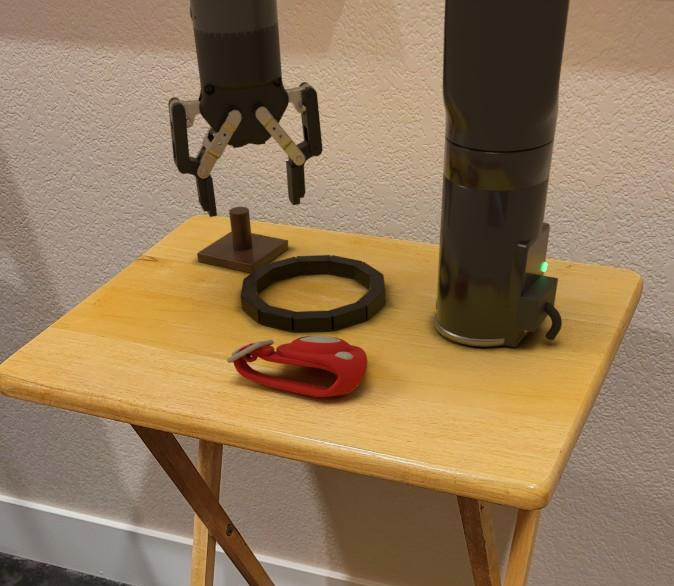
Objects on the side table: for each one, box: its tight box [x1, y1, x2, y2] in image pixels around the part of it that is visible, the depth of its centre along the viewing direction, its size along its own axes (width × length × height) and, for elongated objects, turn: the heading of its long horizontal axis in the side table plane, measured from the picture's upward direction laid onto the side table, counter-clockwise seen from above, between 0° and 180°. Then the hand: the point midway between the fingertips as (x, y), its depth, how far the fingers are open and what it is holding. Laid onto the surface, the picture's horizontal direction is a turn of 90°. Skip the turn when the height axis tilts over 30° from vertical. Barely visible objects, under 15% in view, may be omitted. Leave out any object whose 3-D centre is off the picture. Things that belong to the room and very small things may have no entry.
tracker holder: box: [226, 335, 368, 398], centre depth 79 cm, size 12×4×10 cm
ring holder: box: [196, 206, 289, 274], centre depth 99 cm, size 8×8×5 cm
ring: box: [240, 254, 386, 333], centre depth 92 cm, size 15×15×2 cm
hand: (253, 208), depth 89 cm, fingers open, 8 cm apart
